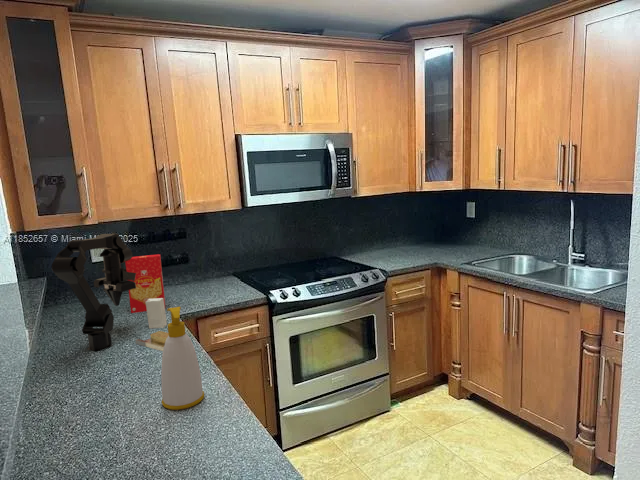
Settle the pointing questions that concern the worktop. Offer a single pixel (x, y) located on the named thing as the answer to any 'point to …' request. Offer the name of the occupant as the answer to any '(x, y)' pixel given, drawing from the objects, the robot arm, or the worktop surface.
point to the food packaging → (145, 281)
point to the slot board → (149, 344)
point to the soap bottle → (180, 367)
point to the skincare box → (156, 313)
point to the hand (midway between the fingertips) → (117, 305)
